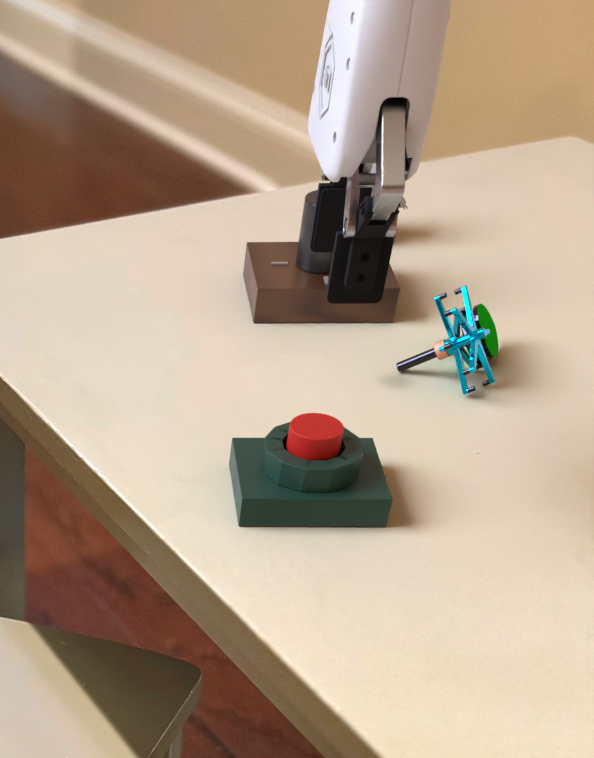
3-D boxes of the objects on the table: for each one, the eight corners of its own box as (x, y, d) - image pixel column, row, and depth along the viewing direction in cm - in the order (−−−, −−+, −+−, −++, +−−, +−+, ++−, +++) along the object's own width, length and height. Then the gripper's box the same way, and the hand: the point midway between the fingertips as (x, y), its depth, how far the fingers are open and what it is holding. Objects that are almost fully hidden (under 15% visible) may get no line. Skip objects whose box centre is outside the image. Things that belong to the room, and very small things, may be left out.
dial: (293, 253, 105) (303, 184, 101) (343, 253, 104) (355, 184, 100) (297, 273, 102) (308, 204, 98) (349, 274, 101) (362, 204, 97)
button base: (366, 464, 86) (377, 414, 83) (386, 527, 80) (398, 475, 77) (228, 464, 86) (234, 414, 83) (238, 526, 81) (245, 475, 78)
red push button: (335, 435, 82) (339, 412, 80) (343, 462, 79) (347, 439, 78) (283, 435, 82) (286, 412, 81) (289, 462, 79) (293, 439, 78)
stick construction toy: (486, 388, 88) (455, 286, 87) (397, 422, 93) (366, 325, 91) (523, 368, 97) (495, 275, 96) (440, 400, 102) (412, 311, 100)
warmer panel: (373, 274, 108) (380, 238, 106) (393, 322, 101) (401, 286, 99) (242, 274, 109) (246, 240, 107) (253, 323, 102) (257, 287, 100)
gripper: (308, -110, 66) (266, 220, 78) (358, -37, 53) (299, 340, 66) (445, -113, 65) (381, 219, 78) (526, -40, 53) (434, 340, 66)
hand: (343, 272), depth 72 cm, fingers open, 6 cm apart
